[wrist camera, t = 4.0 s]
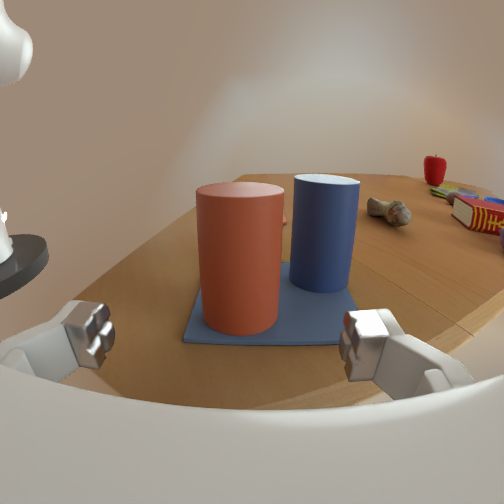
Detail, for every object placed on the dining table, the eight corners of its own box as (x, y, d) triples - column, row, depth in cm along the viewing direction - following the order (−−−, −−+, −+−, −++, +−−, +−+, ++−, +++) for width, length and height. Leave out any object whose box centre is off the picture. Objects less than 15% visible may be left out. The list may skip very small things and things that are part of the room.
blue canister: (292, 293, 28) (299, 182, 24) (286, 265, 33) (291, 172, 29) (354, 293, 27) (369, 186, 24) (340, 266, 33) (349, 176, 29)
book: (470, 230, 50) (474, 207, 48) (451, 215, 61) (454, 194, 59) (530, 242, 45) (535, 220, 43) (507, 225, 56) (510, 206, 55)
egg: (451, 202, 77) (453, 189, 76) (466, 207, 72) (468, 194, 70) (441, 202, 75) (443, 188, 74) (456, 207, 70) (458, 193, 69)
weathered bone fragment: (358, 199, 59) (385, 206, 44) (381, 190, 58) (413, 194, 43) (367, 222, 60) (395, 236, 45) (389, 213, 59) (421, 224, 44)
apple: (445, 186, 113) (448, 156, 108) (441, 187, 106) (445, 155, 101) (424, 181, 120) (427, 152, 115) (419, 182, 113) (422, 151, 108)
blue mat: (183, 342, 21) (182, 338, 21) (209, 264, 34) (209, 260, 34) (371, 342, 21) (372, 338, 21) (333, 266, 34) (333, 262, 34)
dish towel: (425, 193, 86) (426, 185, 85) (440, 189, 102) (441, 182, 101) (473, 206, 74) (475, 198, 73) (479, 199, 90) (481, 192, 89)
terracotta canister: (197, 334, 22) (187, 197, 18) (208, 294, 27) (203, 181, 23) (280, 337, 22) (288, 198, 18) (275, 295, 27) (280, 182, 23)
